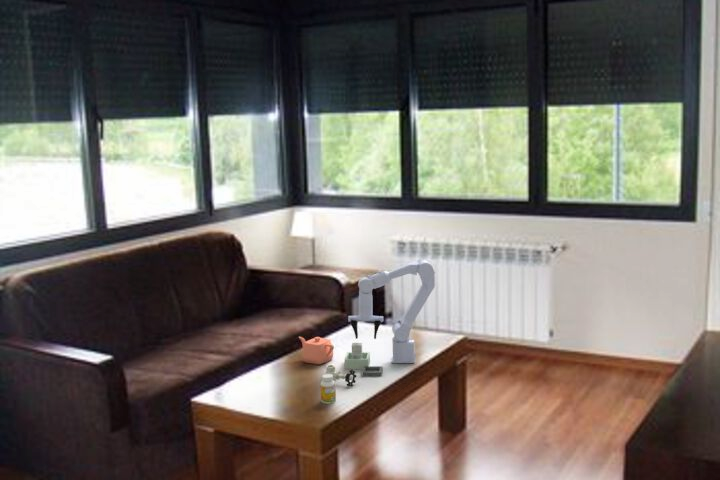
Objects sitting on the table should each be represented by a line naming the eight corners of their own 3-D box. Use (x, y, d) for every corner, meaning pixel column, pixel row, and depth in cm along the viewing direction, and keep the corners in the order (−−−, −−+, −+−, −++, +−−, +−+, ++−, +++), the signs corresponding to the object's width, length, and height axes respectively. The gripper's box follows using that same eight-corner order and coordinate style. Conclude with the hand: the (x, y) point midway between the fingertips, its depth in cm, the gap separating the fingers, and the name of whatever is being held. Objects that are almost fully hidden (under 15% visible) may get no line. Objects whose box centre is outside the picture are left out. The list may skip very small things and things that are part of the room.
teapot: (326, 367, 323) (325, 343, 321) (291, 361, 332) (290, 337, 331) (341, 360, 332) (340, 336, 331) (307, 354, 342) (306, 331, 340)
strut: (363, 361, 327) (362, 342, 325) (362, 364, 322) (361, 345, 321) (352, 361, 327) (352, 342, 326) (351, 364, 323) (351, 345, 321)
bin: (370, 361, 329) (369, 352, 328) (368, 368, 320) (367, 359, 319) (347, 361, 330) (346, 352, 329) (344, 368, 320) (344, 359, 320)
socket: (382, 369, 318) (382, 366, 317) (381, 376, 310) (381, 372, 310) (364, 369, 318) (364, 366, 318) (362, 376, 311) (362, 372, 311)
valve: (321, 384, 304) (347, 389, 297) (321, 367, 303) (346, 372, 296) (331, 379, 309) (357, 384, 303) (331, 363, 308) (356, 367, 302)
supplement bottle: (320, 399, 288) (319, 373, 286) (335, 398, 288) (334, 372, 286) (321, 404, 282) (320, 378, 281) (336, 403, 283) (335, 377, 281)
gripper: (347, 308, 321) (347, 340, 323) (382, 309, 320) (382, 341, 322) (349, 304, 328) (349, 335, 330) (383, 304, 327) (383, 336, 329)
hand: (365, 338), depth 327 cm, fingers open, 7 cm apart
